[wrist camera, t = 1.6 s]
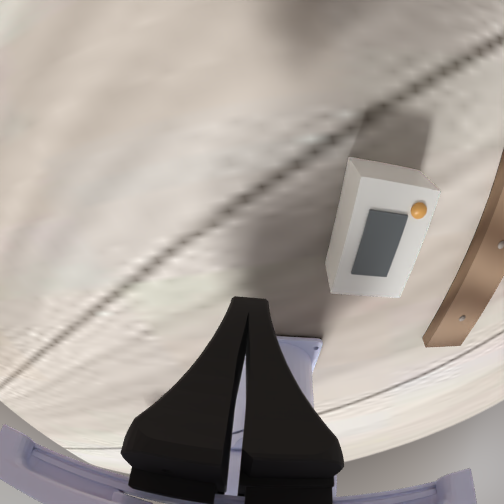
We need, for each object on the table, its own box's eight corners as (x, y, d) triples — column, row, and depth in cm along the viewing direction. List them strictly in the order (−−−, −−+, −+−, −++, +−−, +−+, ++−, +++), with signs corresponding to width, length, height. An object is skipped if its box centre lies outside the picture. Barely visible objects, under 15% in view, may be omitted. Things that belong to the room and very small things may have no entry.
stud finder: (386, 266, 23) (400, 299, 20) (324, 260, 23) (330, 295, 20) (418, 168, 18) (442, 192, 15) (347, 155, 18) (361, 177, 15)
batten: (456, 336, 27) (460, 346, 26) (422, 337, 27) (425, 347, 26) (552, 106, 13) (562, 110, 12) (517, 85, 13) (528, 89, 12)
